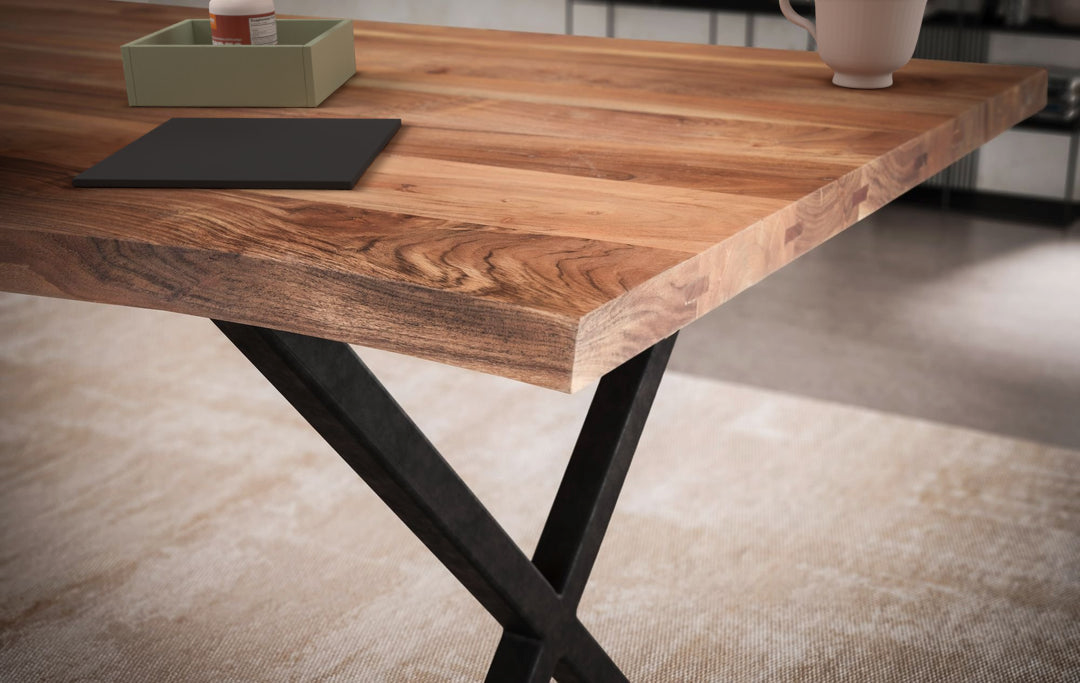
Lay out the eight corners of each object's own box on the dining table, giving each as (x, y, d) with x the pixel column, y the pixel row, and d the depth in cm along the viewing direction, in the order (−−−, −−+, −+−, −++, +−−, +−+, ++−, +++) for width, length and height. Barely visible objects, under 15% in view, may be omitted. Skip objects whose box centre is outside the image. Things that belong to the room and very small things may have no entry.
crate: (128, 106, 108) (119, 46, 106) (193, 72, 124) (186, 19, 122) (316, 107, 107) (310, 46, 105) (356, 72, 123) (352, 18, 121)
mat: (72, 186, 82) (71, 178, 82) (173, 124, 101) (172, 117, 101) (351, 189, 81) (350, 181, 81) (401, 125, 100) (401, 118, 99)
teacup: (792, 66, 123) (799, -32, 119) (937, 78, 117) (950, -27, 113) (755, 86, 114) (761, -21, 110) (910, 100, 107) (923, -14, 103)
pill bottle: (205, 89, 115) (190, -28, 111) (255, 80, 119) (243, -33, 115) (243, 97, 111) (230, -24, 107) (294, 87, 116) (284, -30, 111)
